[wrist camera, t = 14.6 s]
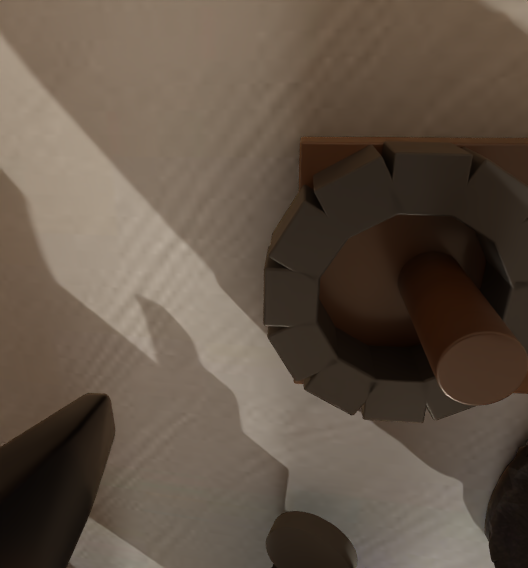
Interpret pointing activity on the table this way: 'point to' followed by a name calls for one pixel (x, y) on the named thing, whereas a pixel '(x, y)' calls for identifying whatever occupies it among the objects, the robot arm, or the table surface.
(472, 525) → the table surface
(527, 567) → the figurine
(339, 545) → the character figurine
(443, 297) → the stand
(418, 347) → the ring
